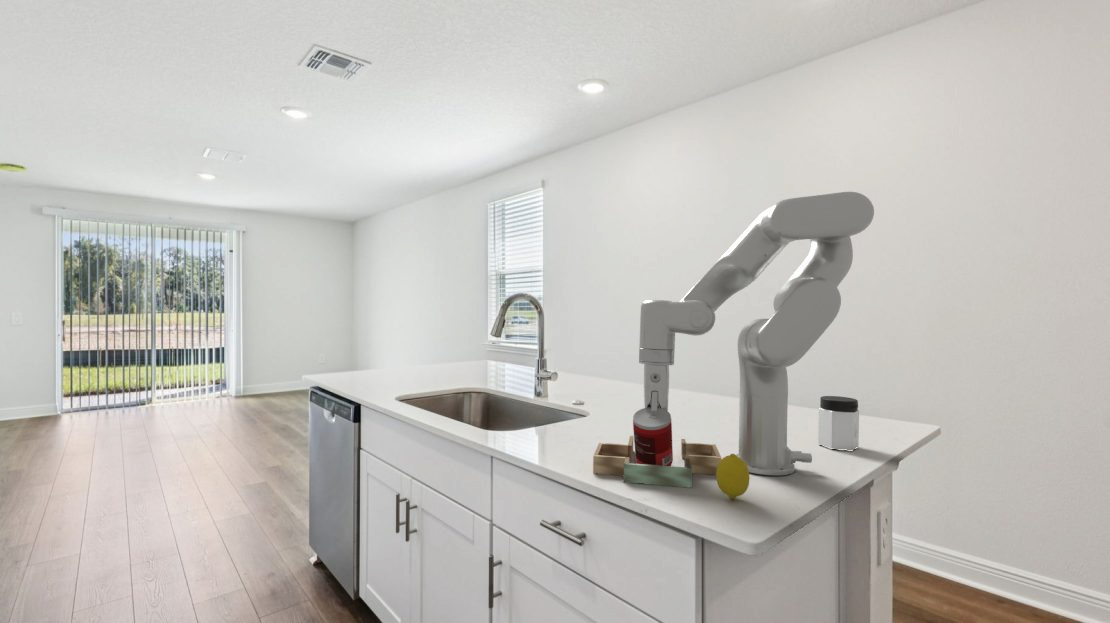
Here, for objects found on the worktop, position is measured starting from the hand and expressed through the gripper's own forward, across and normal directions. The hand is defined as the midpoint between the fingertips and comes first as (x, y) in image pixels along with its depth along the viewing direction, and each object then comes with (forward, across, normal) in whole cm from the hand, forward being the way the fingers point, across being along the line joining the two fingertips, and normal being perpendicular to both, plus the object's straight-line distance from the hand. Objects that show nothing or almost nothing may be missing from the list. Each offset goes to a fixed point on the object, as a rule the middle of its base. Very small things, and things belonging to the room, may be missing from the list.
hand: (653, 441), depth 110 cm
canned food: (+4, -4, 0) cm, 5 cm away
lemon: (+5, -18, -14) cm, 23 cm away
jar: (+4, +26, -44) cm, 51 cm away
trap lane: (+5, -2, -1) cm, 5 cm away
